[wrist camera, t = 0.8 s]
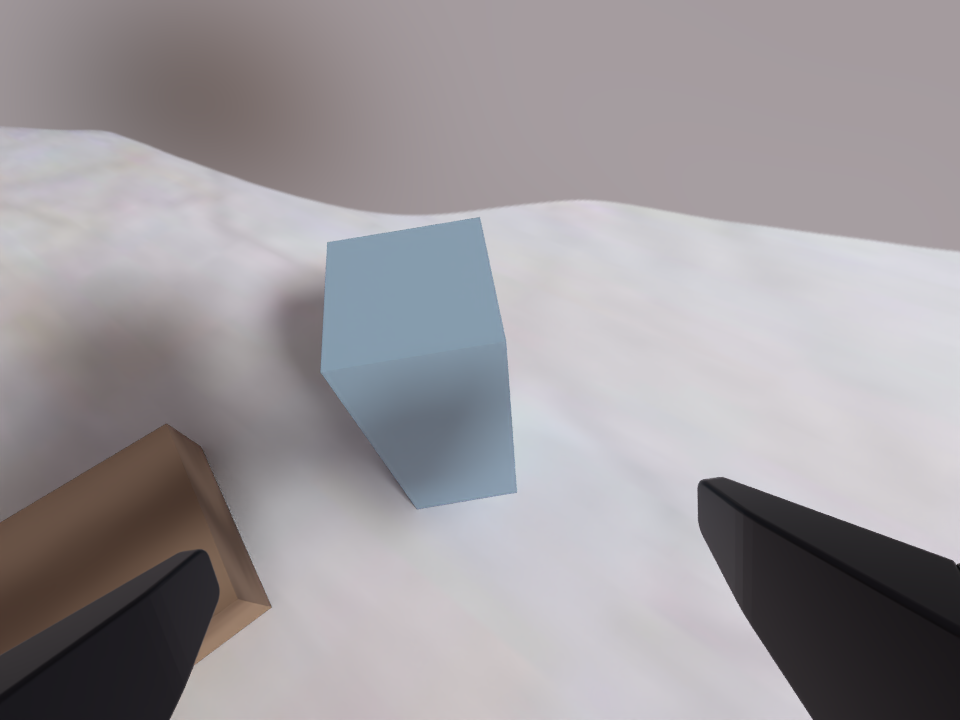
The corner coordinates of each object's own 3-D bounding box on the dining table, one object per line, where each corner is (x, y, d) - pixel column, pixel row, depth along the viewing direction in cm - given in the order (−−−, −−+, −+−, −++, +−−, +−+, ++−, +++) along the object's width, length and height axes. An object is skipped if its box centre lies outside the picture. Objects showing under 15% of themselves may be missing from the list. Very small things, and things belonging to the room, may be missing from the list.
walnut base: (271, 607, 22) (238, 598, 19) (42, 778, 19) (-32, 795, 16) (200, 446, 26) (166, 423, 24) (9, 565, 24) (-52, 553, 21)
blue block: (516, 492, 24) (506, 341, 13) (416, 509, 24) (320, 372, 13) (500, 403, 26) (480, 217, 15) (410, 418, 26) (327, 242, 15)
